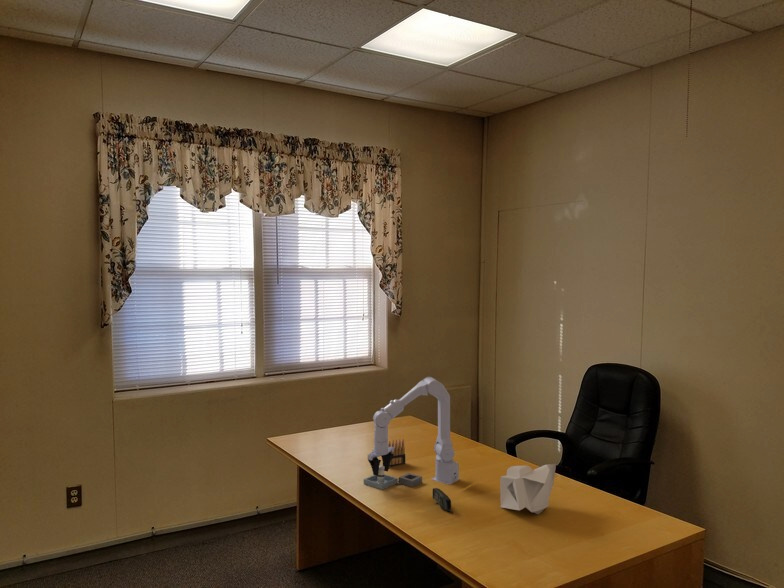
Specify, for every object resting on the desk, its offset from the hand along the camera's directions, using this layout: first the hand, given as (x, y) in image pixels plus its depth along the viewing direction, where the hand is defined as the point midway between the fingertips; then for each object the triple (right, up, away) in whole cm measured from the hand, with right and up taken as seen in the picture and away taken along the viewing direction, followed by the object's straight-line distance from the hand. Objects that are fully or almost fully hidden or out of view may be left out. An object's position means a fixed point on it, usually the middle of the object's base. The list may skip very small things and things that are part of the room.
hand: (380, 472), depth 241 cm
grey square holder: (+12, -5, +1) cm, 13 cm away
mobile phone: (+24, -6, -21) cm, 32 cm away
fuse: (0, -4, 0) cm, 4 cm away
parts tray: (0, -5, 0) cm, 5 cm away
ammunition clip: (+6, -4, +23) cm, 24 cm away
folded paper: (+58, -7, -23) cm, 63 cm away
